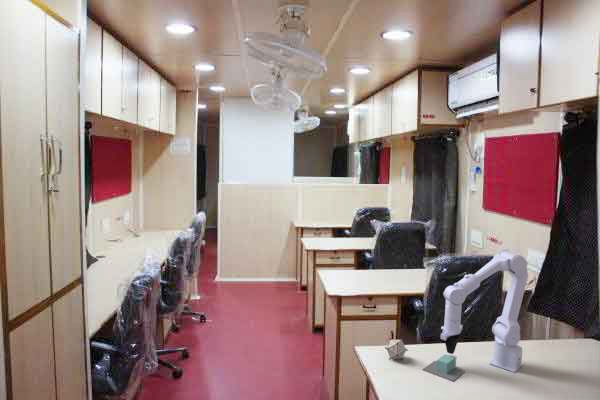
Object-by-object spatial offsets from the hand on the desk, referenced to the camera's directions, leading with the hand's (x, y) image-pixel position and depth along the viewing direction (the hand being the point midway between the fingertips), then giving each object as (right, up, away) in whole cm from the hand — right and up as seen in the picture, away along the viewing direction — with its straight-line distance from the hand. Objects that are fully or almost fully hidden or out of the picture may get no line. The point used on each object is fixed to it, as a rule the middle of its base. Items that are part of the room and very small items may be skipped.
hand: (450, 352), depth 172 cm
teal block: (+1, -3, +1) cm, 3 cm away
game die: (-19, -5, +6) cm, 21 cm away
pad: (-4, -6, -3) cm, 7 cm away
